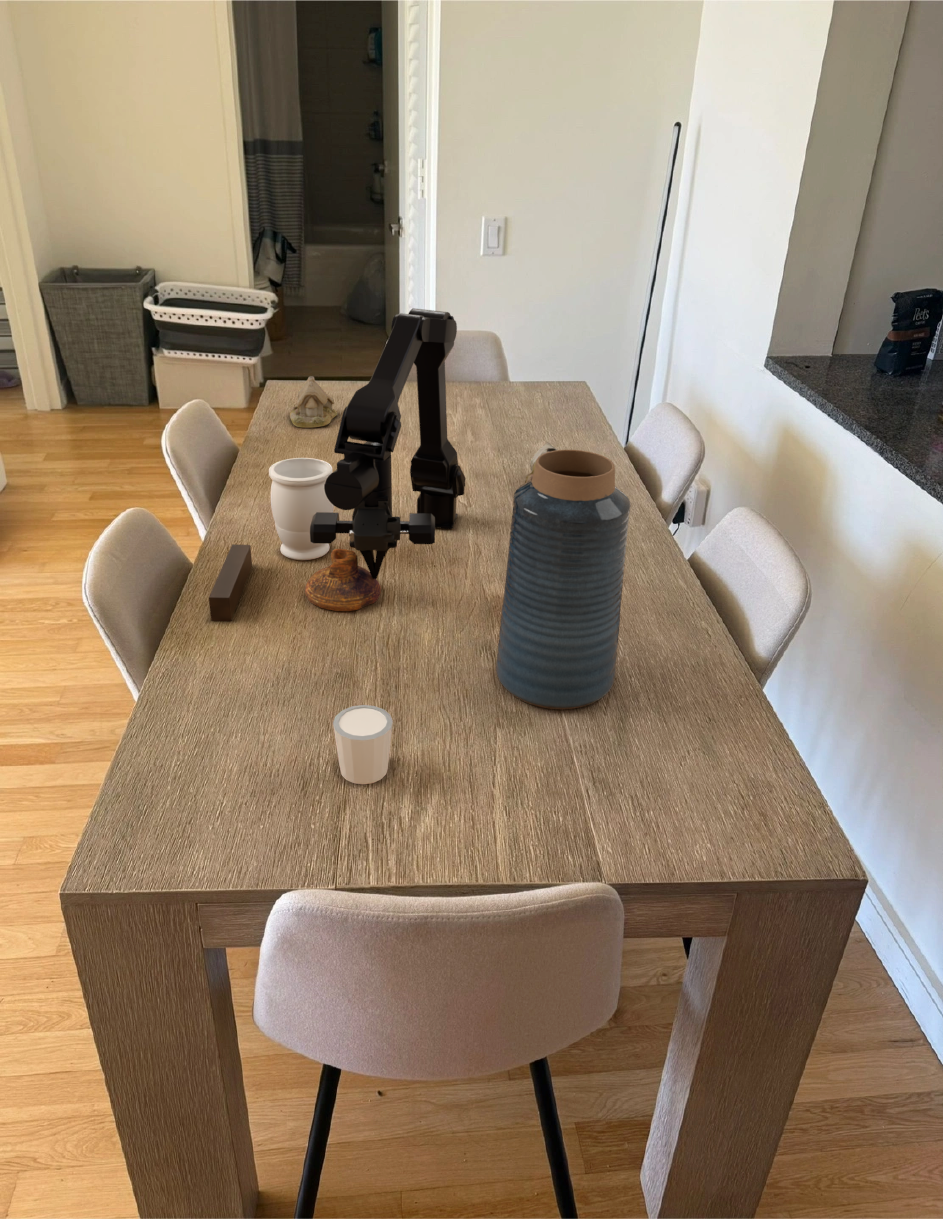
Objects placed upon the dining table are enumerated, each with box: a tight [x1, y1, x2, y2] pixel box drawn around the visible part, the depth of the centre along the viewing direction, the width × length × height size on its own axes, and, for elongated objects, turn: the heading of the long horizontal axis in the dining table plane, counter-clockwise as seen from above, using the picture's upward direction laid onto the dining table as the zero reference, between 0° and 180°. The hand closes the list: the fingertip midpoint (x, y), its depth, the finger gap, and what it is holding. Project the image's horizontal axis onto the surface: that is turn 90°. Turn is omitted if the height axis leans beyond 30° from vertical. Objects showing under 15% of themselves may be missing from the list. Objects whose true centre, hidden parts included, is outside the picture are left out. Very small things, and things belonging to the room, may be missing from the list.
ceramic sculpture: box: [524, 441, 559, 483], centre depth 189 cm, size 11×9×15 cm
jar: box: [268, 457, 335, 561], centre depth 159 cm, size 11×10×15 cm
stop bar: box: [208, 544, 253, 622], centre depth 148 cm, size 3×18×4 cm, turn 2°
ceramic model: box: [289, 375, 338, 428], centre depth 221 cm, size 14×11×10 cm
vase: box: [495, 449, 631, 710], centre depth 123 cm, size 16×16×32 cm
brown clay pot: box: [304, 548, 382, 612], centre depth 148 cm, size 12×12×7 cm
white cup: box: [332, 704, 394, 785], centre depth 111 cm, size 7×7×7 cm
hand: (374, 577), depth 148 cm, fingers closed
